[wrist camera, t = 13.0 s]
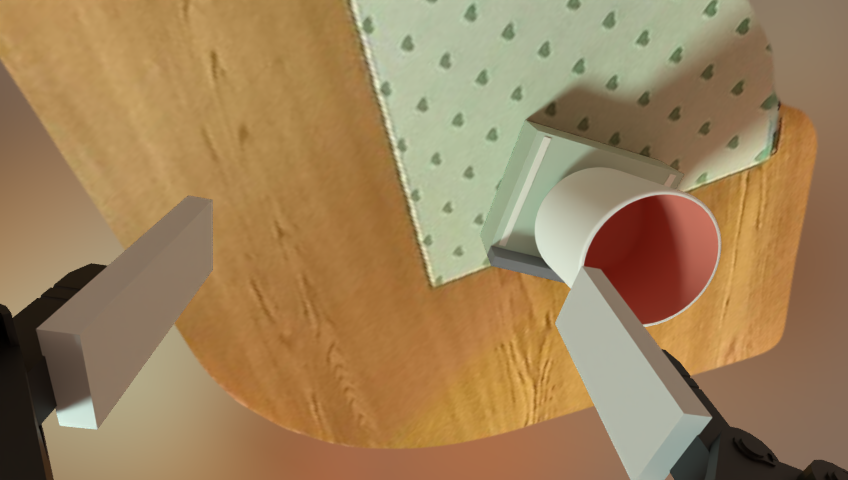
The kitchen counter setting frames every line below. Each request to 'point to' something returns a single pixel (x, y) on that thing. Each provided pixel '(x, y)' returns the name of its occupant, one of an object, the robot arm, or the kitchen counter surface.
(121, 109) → the kitchen counter surface
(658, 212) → the cup
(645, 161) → the dock
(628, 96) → the kitchen counter surface
